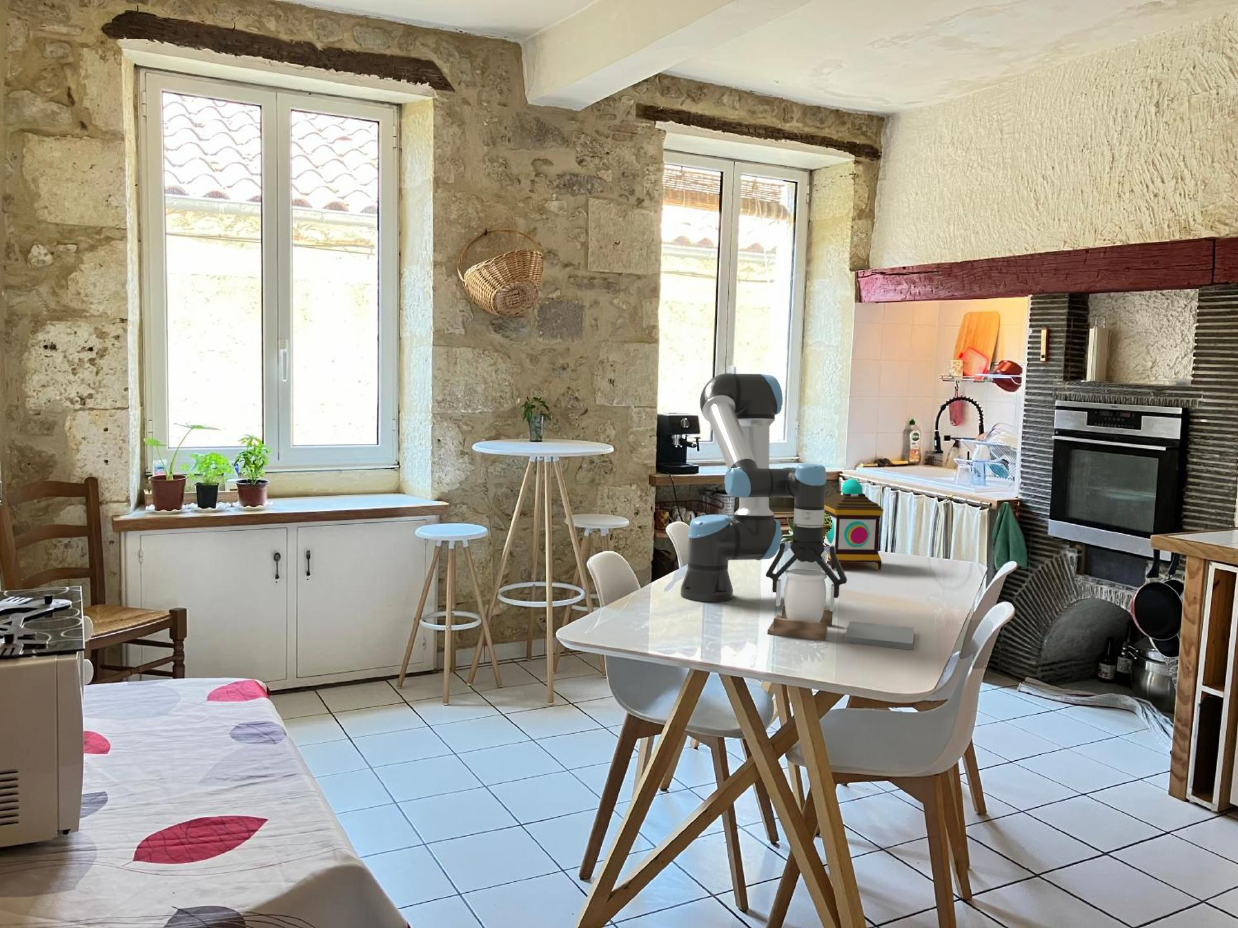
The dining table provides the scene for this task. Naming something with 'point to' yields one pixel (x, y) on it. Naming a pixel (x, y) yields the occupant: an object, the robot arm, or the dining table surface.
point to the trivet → (880, 635)
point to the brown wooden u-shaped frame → (801, 626)
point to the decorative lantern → (853, 525)
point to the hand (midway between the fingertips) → (804, 607)
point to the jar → (805, 594)
